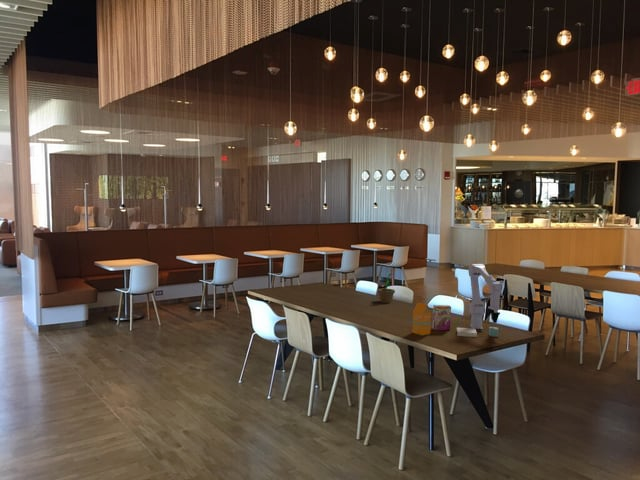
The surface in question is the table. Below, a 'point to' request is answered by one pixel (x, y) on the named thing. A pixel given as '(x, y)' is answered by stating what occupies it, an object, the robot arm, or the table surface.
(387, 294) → the flowerpot
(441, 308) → the candy bar box
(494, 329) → the teal cube
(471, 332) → the grey plinth
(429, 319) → the orange juice
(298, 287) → the table surface
